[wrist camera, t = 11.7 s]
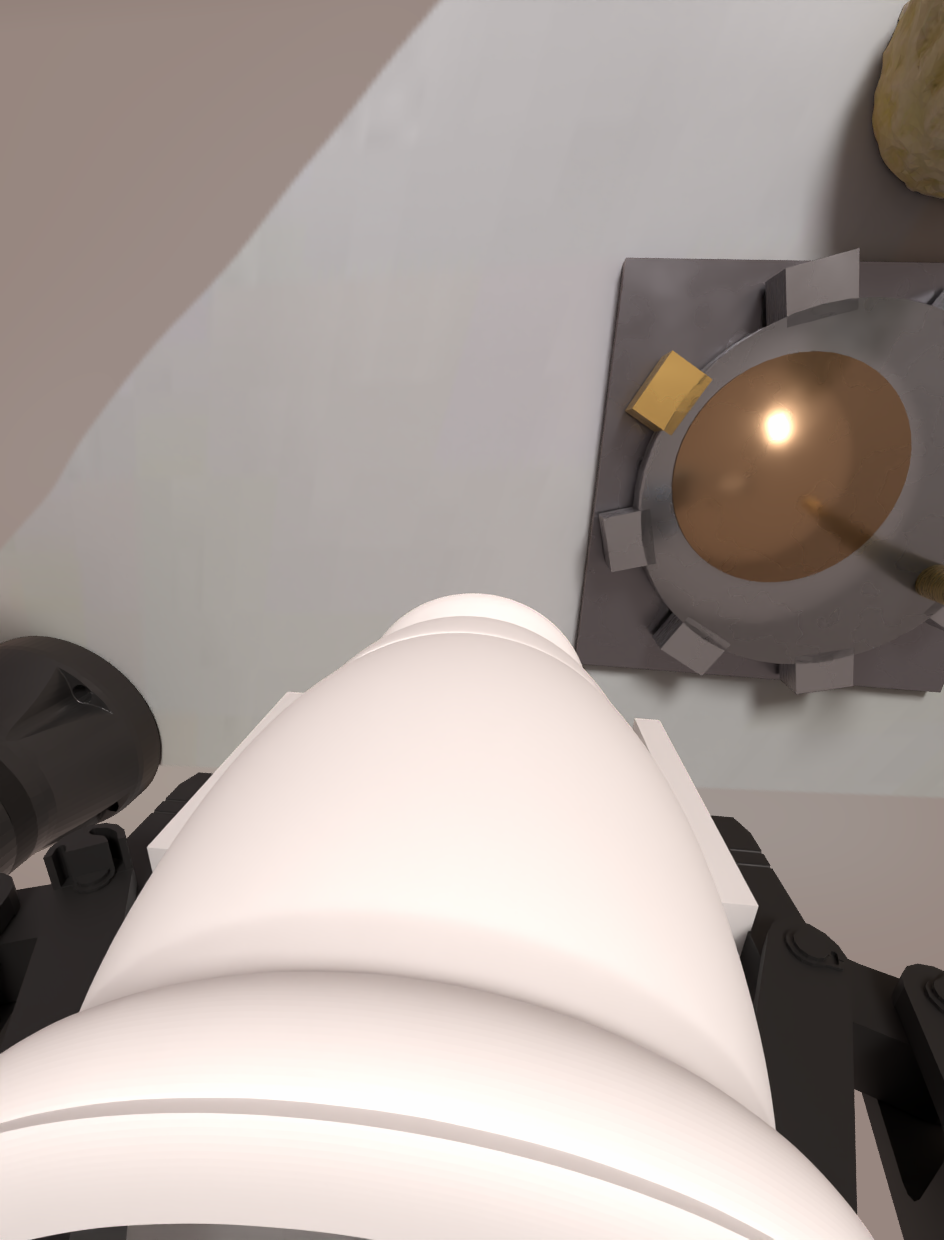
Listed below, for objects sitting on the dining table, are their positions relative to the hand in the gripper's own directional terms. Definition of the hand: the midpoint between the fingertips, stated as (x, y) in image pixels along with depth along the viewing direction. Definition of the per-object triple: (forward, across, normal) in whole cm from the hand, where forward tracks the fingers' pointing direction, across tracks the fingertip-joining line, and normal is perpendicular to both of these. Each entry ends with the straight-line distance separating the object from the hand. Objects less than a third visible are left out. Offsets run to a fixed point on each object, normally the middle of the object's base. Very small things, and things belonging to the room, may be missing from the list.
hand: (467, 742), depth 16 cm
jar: (+3, 0, 0) cm, 3 cm away
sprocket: (+15, +17, +7) cm, 24 cm away
